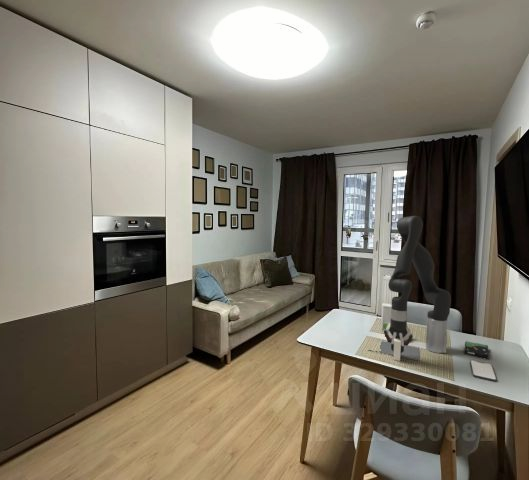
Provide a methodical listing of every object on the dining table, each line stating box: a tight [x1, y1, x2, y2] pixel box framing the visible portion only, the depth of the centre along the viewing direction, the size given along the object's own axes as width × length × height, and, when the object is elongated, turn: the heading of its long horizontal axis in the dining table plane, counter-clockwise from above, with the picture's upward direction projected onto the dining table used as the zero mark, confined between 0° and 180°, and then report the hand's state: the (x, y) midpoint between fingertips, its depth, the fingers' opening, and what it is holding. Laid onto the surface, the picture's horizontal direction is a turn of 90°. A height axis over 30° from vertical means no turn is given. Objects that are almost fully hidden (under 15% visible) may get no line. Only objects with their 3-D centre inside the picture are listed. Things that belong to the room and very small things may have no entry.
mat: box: [379, 340, 420, 362], centre depth 156 cm, size 24×16×1 cm, turn 63°
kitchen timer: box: [384, 322, 411, 342], centre depth 171 cm, size 14×14×15 cm
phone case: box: [469, 359, 498, 383], centre depth 134 cm, size 9×2×16 cm
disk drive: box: [463, 340, 490, 360], centre depth 155 cm, size 10×3×15 cm
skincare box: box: [380, 302, 392, 331], centre depth 185 cm, size 8×7×16 cm
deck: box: [392, 338, 401, 362], centre depth 146 cm, size 3×7×10 cm, turn 153°
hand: (397, 351), depth 147 cm, fingers closed on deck, 3 cm apart
